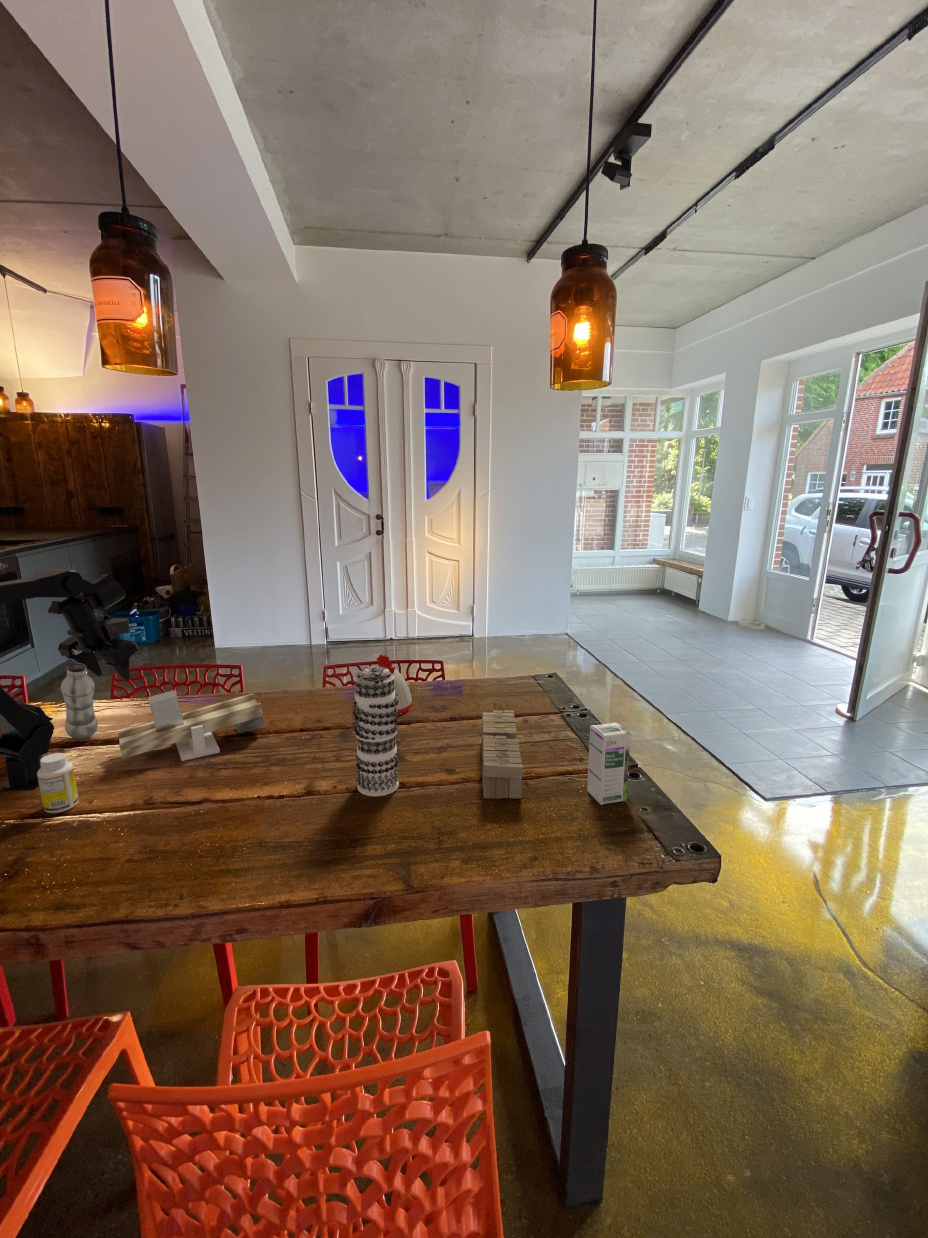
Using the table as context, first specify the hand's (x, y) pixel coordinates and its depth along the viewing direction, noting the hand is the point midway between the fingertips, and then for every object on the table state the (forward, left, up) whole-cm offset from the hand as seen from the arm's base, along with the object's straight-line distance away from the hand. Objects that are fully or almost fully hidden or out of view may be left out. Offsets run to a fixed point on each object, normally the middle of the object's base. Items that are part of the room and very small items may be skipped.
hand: (113, 677), depth 133 cm
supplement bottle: (-30, -1, -16) cm, 34 cm away
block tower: (-25, -88, -16) cm, 93 cm away
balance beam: (-5, -19, -15) cm, 25 cm away
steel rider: (-7, -14, -10) cm, 19 cm away
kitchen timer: (+13, -63, -16) cm, 67 cm away
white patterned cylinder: (-30, -61, -16) cm, 70 cm away
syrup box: (-40, -106, -16) cm, 115 cm away
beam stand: (-5, -18, -16) cm, 25 cm away
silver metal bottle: (+3, +10, -15) cm, 19 cm away
